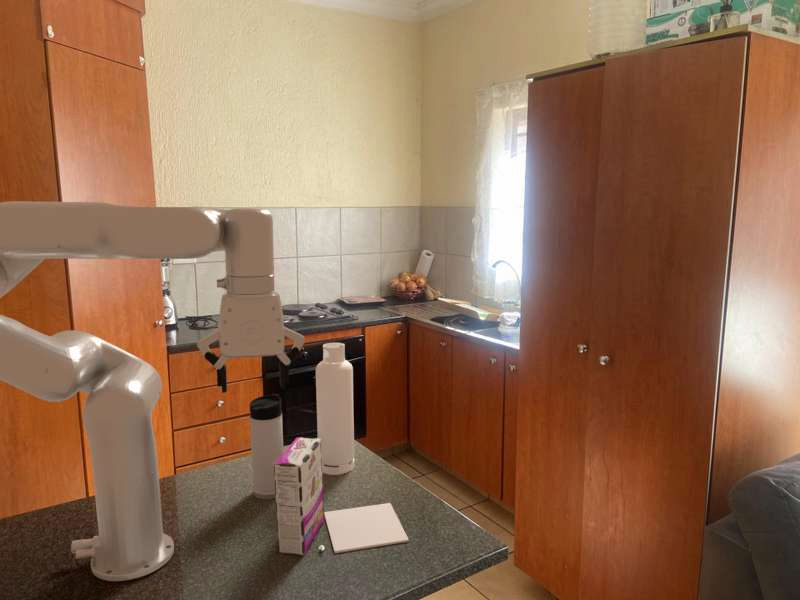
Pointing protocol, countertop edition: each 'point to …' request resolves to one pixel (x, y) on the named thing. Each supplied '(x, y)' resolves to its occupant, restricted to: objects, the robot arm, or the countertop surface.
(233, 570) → the countertop surface
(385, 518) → the mat
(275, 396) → the travel mug
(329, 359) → the bottle
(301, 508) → the candy bar box
